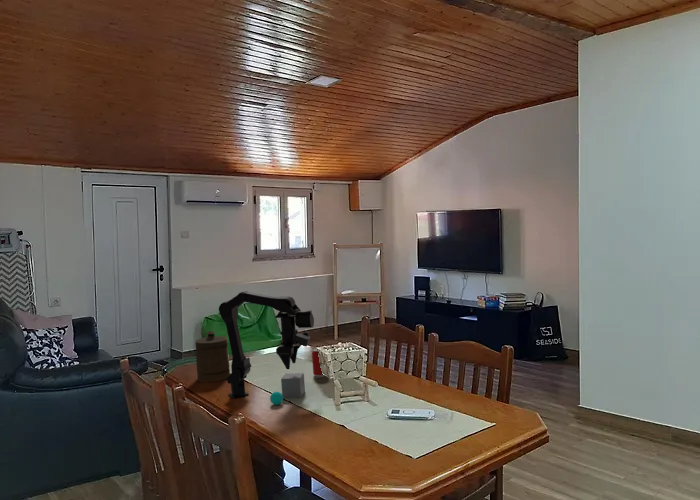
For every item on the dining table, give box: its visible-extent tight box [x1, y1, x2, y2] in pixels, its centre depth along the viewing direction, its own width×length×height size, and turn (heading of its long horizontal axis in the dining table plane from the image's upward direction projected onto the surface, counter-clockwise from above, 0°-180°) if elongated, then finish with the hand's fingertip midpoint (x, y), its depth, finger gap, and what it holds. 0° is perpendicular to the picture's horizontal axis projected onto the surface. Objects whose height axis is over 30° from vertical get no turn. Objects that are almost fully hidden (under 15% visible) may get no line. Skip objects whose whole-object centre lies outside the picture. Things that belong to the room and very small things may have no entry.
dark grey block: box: [280, 372, 306, 399], centre depth 241 cm, size 8×8×8 cm
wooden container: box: [195, 330, 231, 382], centre depth 276 cm, size 15×15×22 cm
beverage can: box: [311, 348, 325, 378], centre depth 268 cm, size 6×6×12 cm
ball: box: [269, 391, 284, 406], centre depth 230 cm, size 5×5×5 cm
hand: (291, 366), depth 240 cm, fingers open, 9 cm apart
